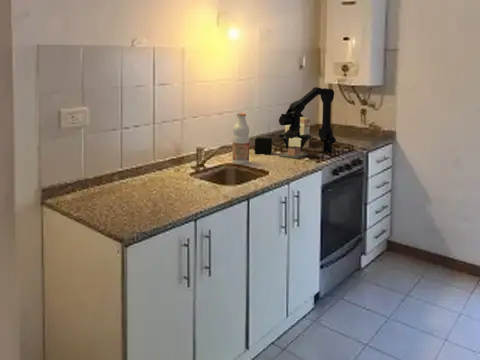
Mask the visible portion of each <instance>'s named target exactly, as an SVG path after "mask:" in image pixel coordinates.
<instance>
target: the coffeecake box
mask: <svg viewBox="0 0 480 360" xmlns="http://www.w3.org/2000/svg"><path fill="white" fill-rule="evenodd" d="M310 124H311V118H310V117H304V116H303V117H300V126H301V128H300V135H303V134H309V135H310V129H311V128H310V126H311V125H310ZM289 126H290V125H284V128H285V131H284V132H287V131H288V130H289ZM300 140H302V139H301V138H295V137H294V138H289V146H288V147H289V148H290V147H293V146H295V147H301V141H300ZM284 147H286V145H285V144H284ZM307 148H310V139H309V140H308V141H306V143H305V145H304V147H303V149H307Z"/></svg>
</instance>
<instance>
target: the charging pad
mask: <svg viewBox="0 0 480 360" xmlns="http://www.w3.org/2000/svg"><path fill="white" fill-rule="evenodd" d="M308 155H309V153H307V152H302V151H300V154H298V155H295V156H293V155H288V151H287V152H284V153H282V154H279V156H278V157H279V158H287V159H292V160H293V159H294V160H298V159H301V158H305V157H306V156H308Z"/></svg>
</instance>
